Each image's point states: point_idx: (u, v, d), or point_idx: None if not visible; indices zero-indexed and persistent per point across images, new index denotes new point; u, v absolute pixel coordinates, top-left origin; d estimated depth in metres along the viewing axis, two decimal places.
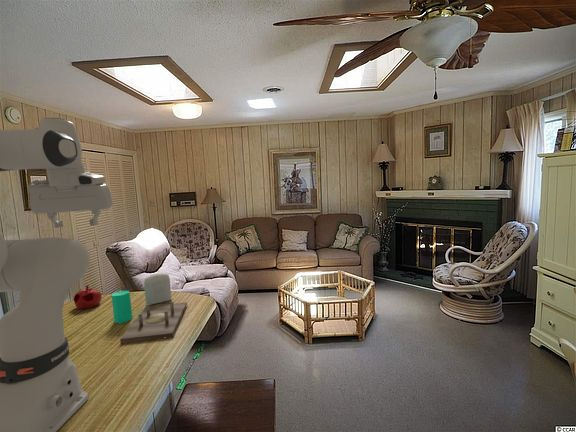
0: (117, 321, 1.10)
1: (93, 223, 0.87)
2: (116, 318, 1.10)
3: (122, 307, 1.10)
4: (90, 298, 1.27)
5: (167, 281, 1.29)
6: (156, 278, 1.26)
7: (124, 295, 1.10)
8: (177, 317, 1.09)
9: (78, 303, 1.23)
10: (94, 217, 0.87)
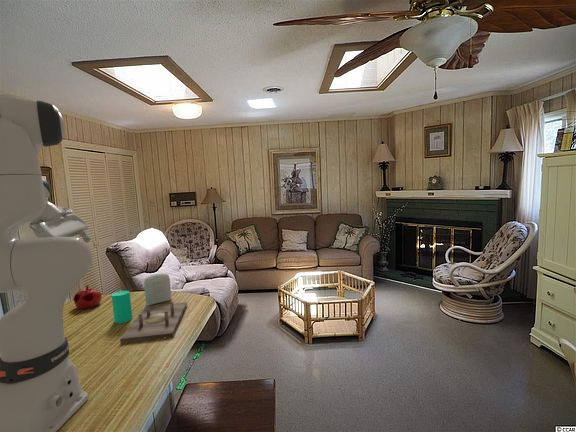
0: (117, 321, 1.10)
1: (89, 237, 1.13)
2: (116, 318, 1.10)
3: (122, 307, 1.10)
4: (90, 298, 1.27)
5: (167, 281, 1.29)
6: (156, 278, 1.26)
7: (124, 295, 1.10)
8: (177, 317, 1.09)
9: (78, 303, 1.23)
10: (86, 234, 1.13)
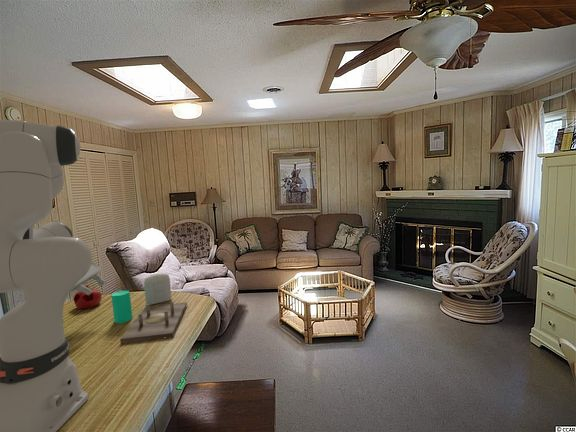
0: (117, 321, 1.10)
1: (104, 281, 1.15)
2: (116, 318, 1.10)
3: (122, 307, 1.10)
4: (90, 298, 1.27)
5: (167, 281, 1.29)
6: (156, 278, 1.26)
7: (124, 295, 1.10)
8: (177, 317, 1.09)
9: (78, 303, 1.23)
10: None
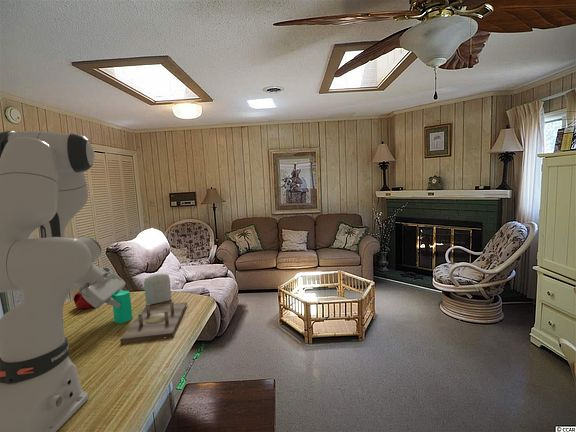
0: (117, 321, 1.10)
1: None
2: (116, 318, 1.10)
3: (122, 307, 1.10)
4: None
5: (167, 281, 1.29)
6: (156, 278, 1.26)
7: (124, 295, 1.10)
8: (177, 317, 1.09)
9: (78, 303, 1.23)
10: None
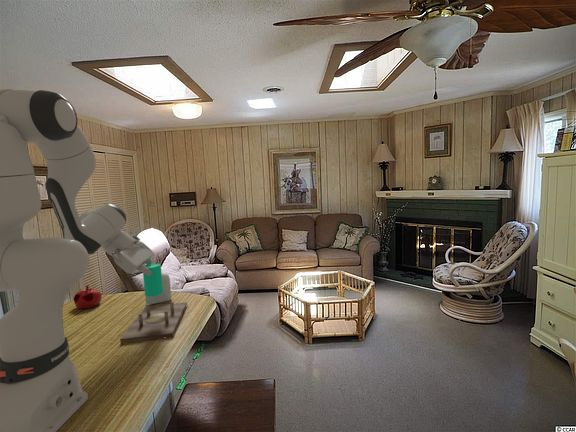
0: (147, 294, 1.05)
1: None
2: (147, 291, 1.05)
3: (153, 279, 1.05)
4: (90, 298, 1.27)
5: (167, 281, 1.29)
6: None
7: (155, 267, 1.05)
8: (177, 317, 1.09)
9: (78, 303, 1.23)
10: (153, 262, 1.11)
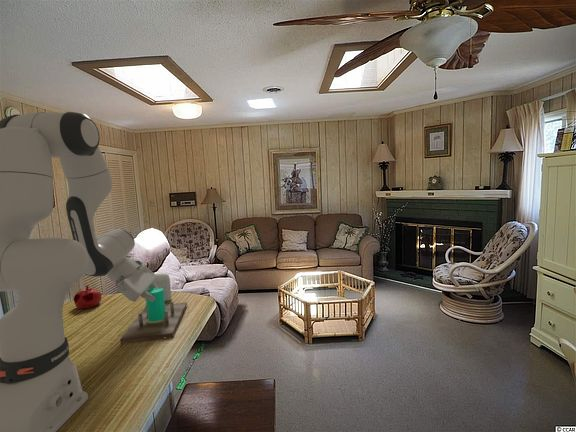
0: (151, 319, 1.06)
1: None
2: (150, 316, 1.06)
3: (156, 304, 1.06)
4: (90, 298, 1.27)
5: (167, 281, 1.29)
6: None
7: (158, 293, 1.06)
8: (177, 317, 1.09)
9: (78, 303, 1.23)
10: (156, 286, 1.12)
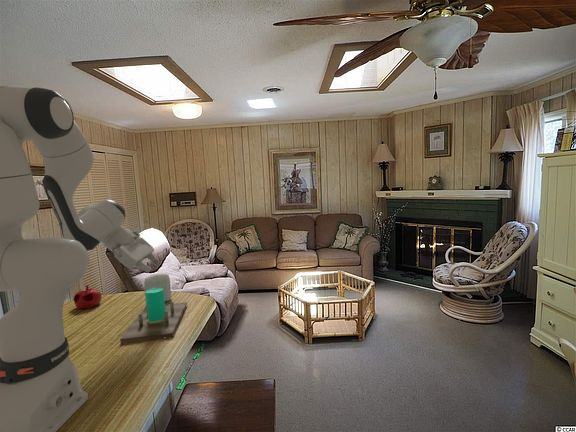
0: (151, 319, 1.06)
1: (158, 260, 1.12)
2: (150, 316, 1.06)
3: (156, 304, 1.06)
4: (90, 298, 1.27)
5: (167, 281, 1.29)
6: (156, 278, 1.26)
7: (158, 293, 1.06)
8: (177, 317, 1.09)
9: (78, 303, 1.23)
10: (155, 257, 1.12)
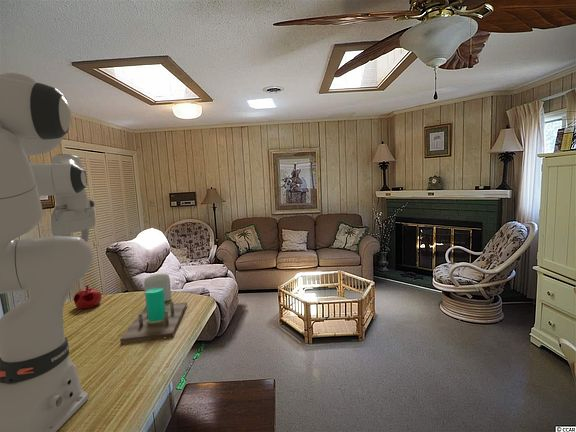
0: (151, 319, 1.06)
1: (87, 239, 1.06)
2: (150, 316, 1.06)
3: (156, 304, 1.06)
4: (90, 298, 1.27)
5: (167, 281, 1.29)
6: (156, 278, 1.26)
7: (158, 293, 1.06)
8: (177, 317, 1.09)
9: (78, 303, 1.23)
10: (88, 234, 1.07)
